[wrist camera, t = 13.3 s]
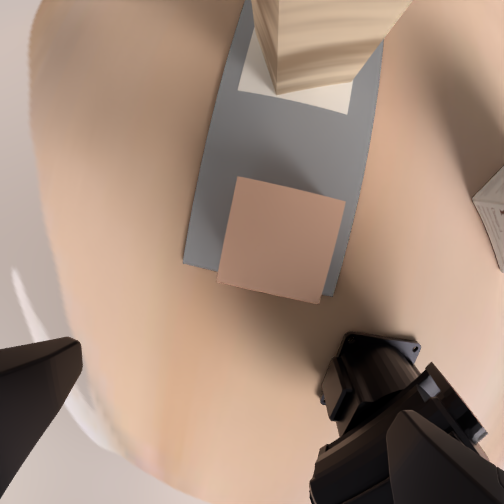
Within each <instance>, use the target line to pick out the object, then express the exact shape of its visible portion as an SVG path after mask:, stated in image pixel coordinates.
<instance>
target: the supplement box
mask: <svg viewBox="0 0 504 504" xmlns="http://www.w3.org/2000/svg"><path fill="white" fill-rule="evenodd" d="M472 201H473V203H474V205H475V207H476V209H477V210H478V212H479V214H480V217H481V219H482V221H483V223H484V225H485V228H486V230H487V233H488V235H489V238H490V241H491V243H492V246H493V249H494V252H495V255H496V258H497V261H498V264H499V268H500V271H501V272H502V273H504V166H503V167H502V168H501V169H500V170H499V171H498V172H497V173H496V174H495V175H494V176H493V177H492V178H491V179H490V181H489V182H488V183H487V184H485V186H484V187H483V188H482V189H481V190H479V191H478V192H477V193H476V195H475V196H474V197H473V198H472Z"/></svg>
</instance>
